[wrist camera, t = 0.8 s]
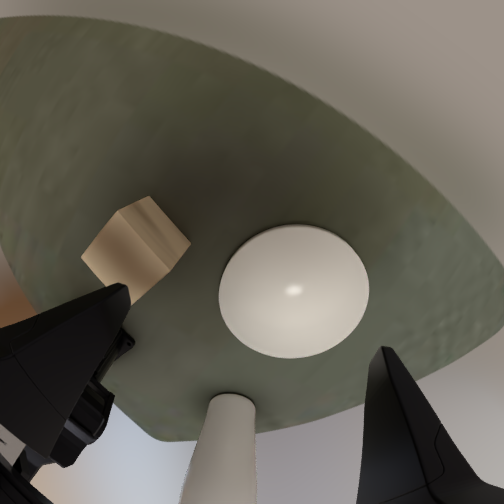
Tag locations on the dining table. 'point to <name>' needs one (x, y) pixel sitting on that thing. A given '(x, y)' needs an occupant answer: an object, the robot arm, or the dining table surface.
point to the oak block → (136, 248)
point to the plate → (293, 291)
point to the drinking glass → (224, 455)
